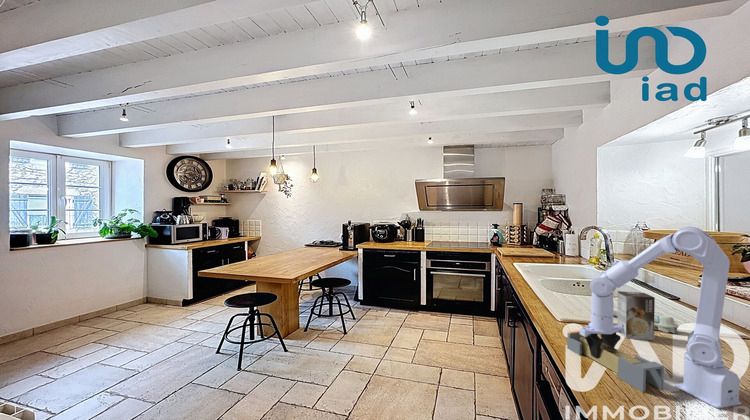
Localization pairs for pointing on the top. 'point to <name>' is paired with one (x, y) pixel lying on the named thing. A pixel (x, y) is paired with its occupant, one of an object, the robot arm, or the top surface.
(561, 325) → the top surface
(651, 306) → the coffee box
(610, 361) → the tan rectangular post
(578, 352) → the socket
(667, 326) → the pale grey bumpy piece
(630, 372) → the sleeve
